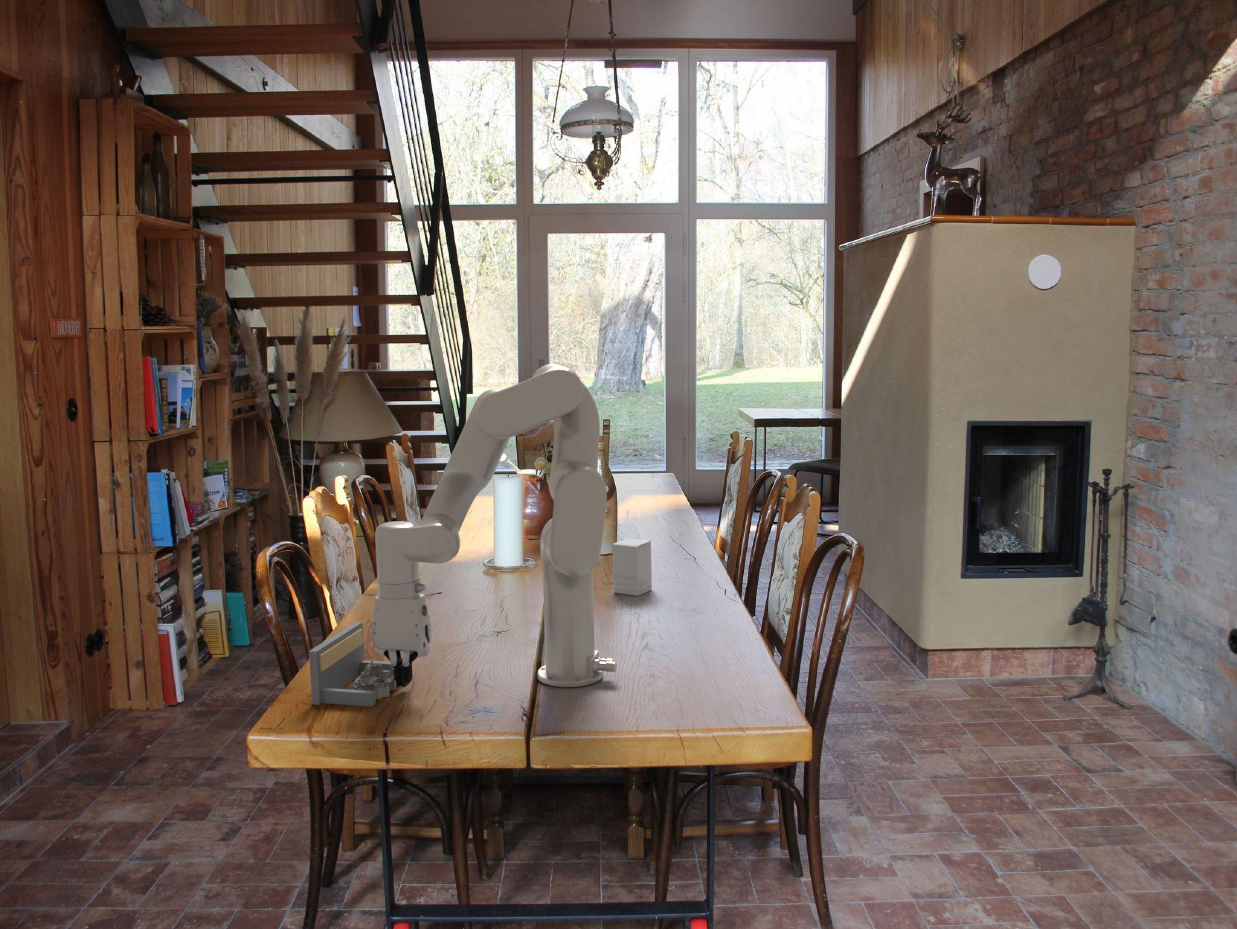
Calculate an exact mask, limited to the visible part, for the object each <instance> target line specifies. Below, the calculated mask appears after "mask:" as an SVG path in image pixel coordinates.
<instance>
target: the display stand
mask: <svg viewBox="0 0 1237 929" xmlns="http://www.w3.org/2000/svg"><path fill="white" fill-rule="evenodd" d="M364 640H365V639H364V624H363V621H354V622H353V623H352V624H350V625H348V626H347V627H345V628H344V629H342V630H340V631H339V632H337V633H336V634H334V635H332V636H331V637H329V638H328V639H326V640H324V641H323V642H321V643H320V644H317V646H315V647H313V648H312V649H310V650H309V651H308V657H309V658H308V659H309V672H310V688H311V690H310V691H311V704H312V705H315V706H319V705H322V704H326V705H327V704H328V705H343V706H355V707H357V706H358V707H367V708H368V707H369V708H370V707H371V708H373V707H374V706H376V704H377V702H376V699H375V691H365V690H354V689H351V688H350V689H347V688H344V687H346V686H347V685H349V684H350V683H351V682H354V681H355V679H357V678H358V677H359V676H360V673H362V672H364V669H365V667H366V665H368V663H370V662H371V661H373V663H374V664H380V665H382V666H383V668H384V670H390V667H393V668H394V666H392V665H391V662H390V661H383V660H382V661H381V660H380V661H379V660H377V661H376V660H366V659H365V645H364V644H365V643H364Z"/></svg>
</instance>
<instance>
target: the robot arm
mask: <svg viewBox="0 0 1237 929" xmlns="http://www.w3.org/2000/svg"><path fill="white" fill-rule="evenodd" d="M533 373H534V374H533V375H532V376H531V378H528V379H525V380H523V381H520V382H518V383H516V384H514V385H512V386H509V387H506V388H504V389H501V388H492V389H488V390H485V391H483V392H482V393H481V394H479V396H478V397H477V399H476V400H475V402H474V404H473V406H472V408H471V411H470V413H469V414H468V416H467V420H466V422H465V424H464V426H463V428H462V431H461V433H460V434H459V437H458V440H457V442H456V444H455V445H454V446H455V447H454V449H453V451H452V452H451V455H450V457H449V460H448V462H447V463H446V466H445V468H444V470H443V473H442V475H441V477H440V480H439V482H438V483H437V486H436V488H435V489H434V492H433V493H432V496H431V498H430V500H429V503H428V505H427V507H426V509H425V511H424V514H423V516H422V518H421V520H420V524H419V525H417V526H416V525H415V524H414V523H412V522H410V521H404V520H400V521H399V520H398V521H396V520H395V521H387V522H383V523H381V524H379V525H378V526H377V527H376V529H375V533H374V534H375V536H374V537H375V541H374V542H375V557H376V575H377V595H376V596H375V598H374V604H373V609H372V610H373V611H372V643H373V645H374V648H373V652H374V653H376V654H379V655H382V656H384V657H385V658H386V659H388V662H391V665H392V666H394V680H395V681H396V688H400V687H401V688H406V687H407V686H408V685H410V683H411V682H412V680H413V662H414V661H416V660H417V658H423V657H427V656H428V655H430V653H431V648H430V645H429V644H430V643H432V637H433V636H432V627H431V619H430V617H431V616H430V613H429V608H428V604H427V599H426V596H425V594H424V593H422V592H426V590H427V584H426V583H422V582H421V578H420V568H419V567H420V564H419V563H425V564H445V563H448V562H450V561H452V560H453V559H454V558H455V557H457V555H458V553H459V552H460V549H461V548H460V547H461V538H460V530H461V528H462V526H463V524H464V522H465V519H466V516H467V514H468V512H469V510H470V508H471V506H472V504H473V502H474V501H475V499H476V498H477V497H478V495H479V493H480V492H481V491H483V490H484V489H485V488H486V487H487V486H488V485H489V483H490V482H491V480H492V478H493V477H494V474H495V472H496V469H497V467H498V466H499V463H500V461H501V459H502V457H503V454H504V452H505V450H506V448H507V445H508V443H509V441H510V439H511V438H513V437H515V436H518V435H522V434H524V433H526V432H529V431H532V430H533V429H537V428H538V427H541V426H542V425H546V424H547V423H549V422H552V421H553V429H554V432H553V450H552V458H551V466H550V467H551V468H550V473H549V480H548V491H549V494H550V497H551V498H552V500H553V507H552V508H553V510H552V518H550V519H549V520H548V521H547V522H546V523H545V525H544V526H543V528H542V530H541V533H540V539H539V548H540V549H539V550H540V560H541V570H542V583H543V584H542V588H543V590H542V591H543V623H544V624H543V626H544V655H545V658H544V659H545V662H544V663H545V665H543V666H541V667H540V668H539V669H538V670H537V679H538V680H539V681H540V682H541V683H543V684H545V685H548V686H551V687H556V688H579V687H584V686H588V685H592V684H595V683H597V682H599V681H600V680H601V679H602V678H603V676H604V672H606V673H616V672H617V667H618V666H617V662H615V661H614V659H613V658H602V657H601V656H600V652H599V650H596V649H595V615H594V614H595V610H594V609H595V608H594V605H595V604H594V576H593V573H594V572H593V569H594V568H595V566H597V564H598V562H599V559H600V557H601V552H602V546H603V539H604V538H603V537H604V531H605V530H604V529H605V520H606V510H607V500H608V499H607V493H608V492H607V487H606V486H607V485H606V482H605V480H604V478H603V476H602V475H601V473H600V472H599V471H598V464H599V453H600V452H599V451H600V448H599V446H600V436H601V435H600V434H601V433H600V431H601V430H600V429H601V428H600V427H601V426H600V416H599V411H598V408H597V405H596V401H595V399H594V397H593V395H592V394H591V392H590V390H589V389H588V388H587V386H586V385H585V383H583V381H582V380H581V378H580V376H578V374H577V373H576V372H575V371H573V369H571V368H568V367H566V366H564V365H560V364H556V363H550V364H548V363H547V364H545V365H542V366H541V367H539V368H538V369H536V371H535V372H533Z"/></svg>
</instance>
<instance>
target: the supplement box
mask: <svg viewBox="0 0 1237 929" xmlns="http://www.w3.org/2000/svg"><path fill="white" fill-rule="evenodd" d="M611 552H612V579H613V581H612V584H613V593H616V594H622V595H628V596H637V597H639V596H641V595H643V594H645V593H647V592H649V591H652V590H653V583H652V582H653V580H652V577H653V576H652V541H651V540H643V539H635V538H627V537H626V538H624V539H622V540H619V541H616V542H614V543H612V544H611Z"/></svg>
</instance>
